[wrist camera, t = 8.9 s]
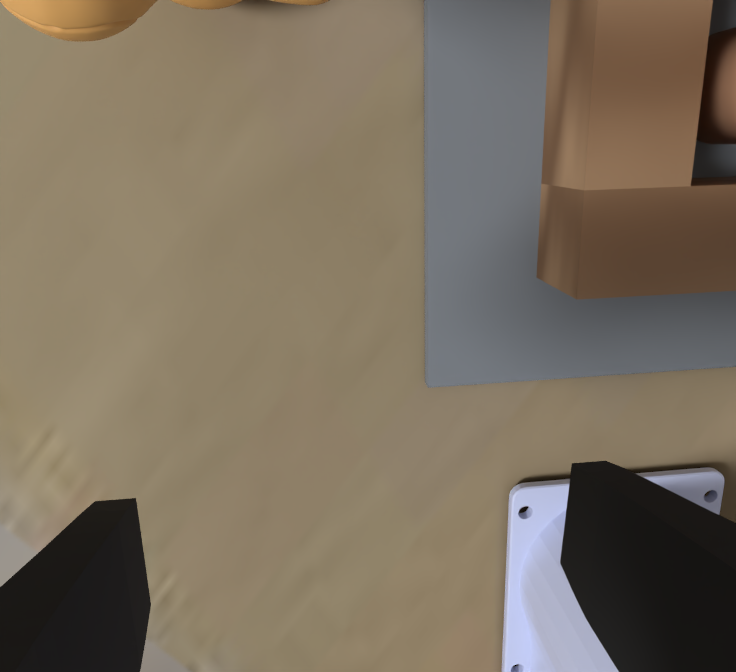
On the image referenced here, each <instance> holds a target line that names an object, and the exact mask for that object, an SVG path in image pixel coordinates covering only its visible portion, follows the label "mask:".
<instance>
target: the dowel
mask: <svg viewBox="0 0 736 672" xmlns="http://www.w3.org/2000/svg"><path fill="white" fill-rule="evenodd" d="M696 140H698V141H700V142H704V143H707V144H736V27H735V28H731V29H727V30H724V31H720V32H717V33H714V34H712V35H710V36H709V37H708V46H707V54H706V62H705V71H704V79H703V87H702V96H701V104H700V112H699V121H698V129H697V138H696Z"/></svg>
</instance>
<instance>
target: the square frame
mask: <svg viewBox="0 0 736 672" xmlns="http://www.w3.org/2000/svg"><path fill="white" fill-rule="evenodd" d="M712 4H713V0H551V3H550V23H549V42H548V62H547V81H546V101H545V120H544V140H543V159H542V179H541V198H540V218H539V237H538V257H537V276H536V278H538V279H540V280H542V281H544V282H545V283H547V284H549V285H551V286H553V287H555V288H556V289H558V290H560V291H562V292H564V293H565V294H567V295H569V296H571V297H573V298H575V299H576V300H579V299H597V298H615V297H633V296H651V295H669V294H687V293H705V292H723V291H736V176H733V177H707V178H692V171H693V163H694V154H695V146H696V138H697V129H698V121H699V112H700V104H701V96H702V87H703V79H704V71H705V62H706V54H707V46H708V37H709V29H710V21H711V12H712Z"/></svg>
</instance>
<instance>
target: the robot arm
mask: <svg viewBox="0 0 736 672" xmlns="http://www.w3.org/2000/svg"><path fill="white" fill-rule="evenodd" d="M724 483H725V481H724V477H723V475H722V474H721V473H720V472H719V471H717V470H716V469H714V468H710V467H706V468H694V469H682V470H670V471H658V472H646V473H633V472H631V471H629V470H627V469H624V468H622V467H620V466H617V465H615V464H612V463H610V462H607V461H598V462H585V463H572V467H571V475H570V479H563V480H551V481H539V482H527V483H521V484H518V485H516V486H515V487H513V489H512V490H511V491H510V495H509V512H508V535H507V559H506V582H505V606H504V629H503V653H502V672H736V523H734V522H732V521H730V520H728V519H726V518H724V517H722V516H720V508H721V502H722V496H723V489H724ZM710 490H711V491H710ZM708 491H710V493H709V494H708V495H707V496H705V497H704V495H705V493H706V492H708ZM524 506H529V507H528V509H527V510H526V511H525V512H523V513H518V512H519V510H520V509H521V508H522V507H524ZM150 607H151V602H150V595H149V588H148V581H147V574H146V567H145V560H144V553H143V545H142V538H141V531H140V524H139V517H138V510H137V503H136V498H132V499H120V500H107V501H95V502H94V503H93V504H92V505H90V506H89V507H88V508H87V509H86V510H85V511H83V512H82V513H81V514H80V515H79V516H78V517H77V518H76V519H75V520H74V521H73V522H71V523H70V524H69V525H68V526H67V527H66V528H65V529H64V530H63V531H62V532H61V533H60V534H59V535H57V536H56V537H55V538H54V539H53V540H52V541H51V542H50V543H49V544H48V545H47V546H46V547H45V548H43V549H42V550H41V551H40V552H39V553H38V554H37V555H36V556H35V557H33V559H31V560H30V561H29V562H28V563H27V564H26V565H25V566H23V567H22V568H21V569H20V570H19V571H18V572H17V573H16V574H15V575H14V576H12V577H11V578H10V579H9V580H8V581H7V582H6V583H5V584H4V585H3V586H1V587H0V672H140V669H141V663H142V657H143V651H144V645H145V640H146V633H147V626H148V620H149V613H150ZM516 664H519V665H517V666H515V667H513V666H514V665H516Z"/></svg>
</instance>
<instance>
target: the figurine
mask: <svg viewBox="0 0 736 672" xmlns="http://www.w3.org/2000/svg"><path fill="white" fill-rule="evenodd" d="M156 1H157V0H0V2H2V4H3V5H4V7H5V8H6V9H8V10H9V11H10V12H11V13H12V14H13V15H15V16H16V17H17V18H19V19H20V20H21V21H23V22H24V23H26V24H27V25H29V26H31V27H32V28H34V29H36V30H38V31H40V32H42V33H44V34H47V35H49V36H52V37H55V38H58V39H62V40H67V41H95V40H101V39H104V38H108V37H110V36H113V35H115V34H117V33H119V32H121V31H123V30H125V29H126V28H128V27H129V26H131V25H132V24H133V23H135V21H136V20H137V18H139V17H141V16H142V15H144V14H145V13H146V12H147V11H148V9H149V8H150V7H151V6H152V5H153V4H154V3H155V2H156ZM171 1H173V2H176V3H178V4H181V5H184V6H187V7H191V8H196V9H220V8H225V7H228V6H231V5H234V4H236V3H239V2H241V1H242V0H171ZM269 1H275V2H282V3H289V4H298V5H318V4H322V3H325V2H328V1H330V0H269Z"/></svg>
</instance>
